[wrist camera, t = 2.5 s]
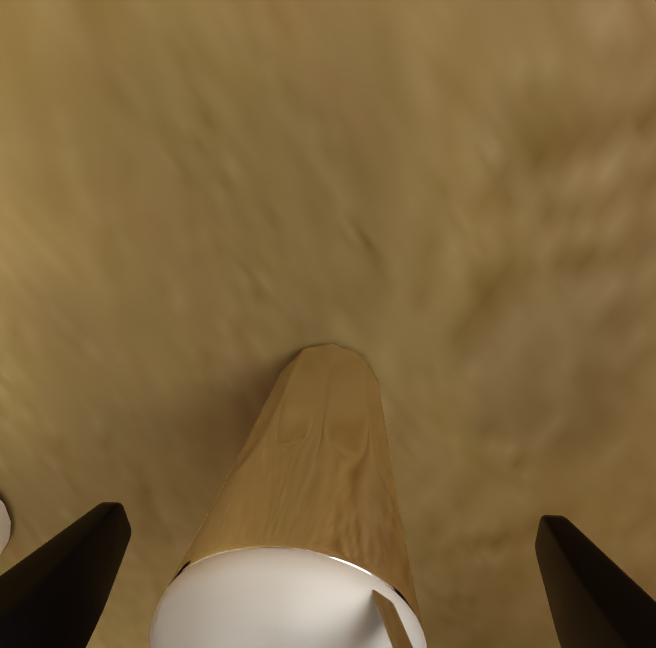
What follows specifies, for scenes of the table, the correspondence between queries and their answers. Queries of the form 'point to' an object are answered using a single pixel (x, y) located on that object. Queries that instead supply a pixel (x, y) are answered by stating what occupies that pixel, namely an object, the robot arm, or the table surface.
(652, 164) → the table surface
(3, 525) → the spray bottle
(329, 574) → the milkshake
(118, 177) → the table surface
